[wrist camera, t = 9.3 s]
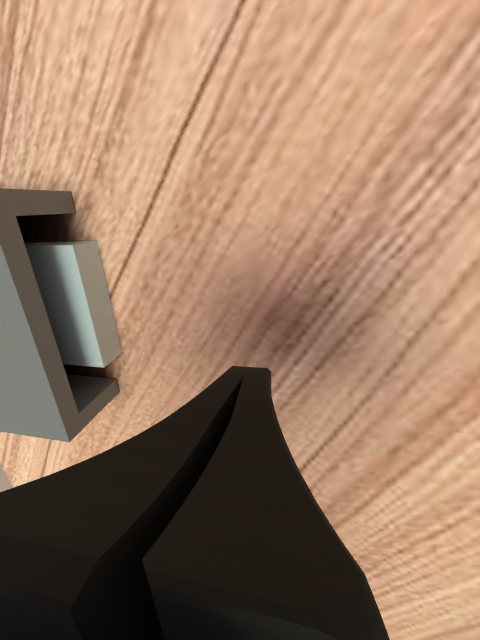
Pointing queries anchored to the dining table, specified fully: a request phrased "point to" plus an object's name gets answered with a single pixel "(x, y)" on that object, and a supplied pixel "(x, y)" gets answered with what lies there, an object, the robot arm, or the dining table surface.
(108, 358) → the pale blue thin plate
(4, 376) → the overhang shelf
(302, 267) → the dining table surface
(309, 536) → the robot arm
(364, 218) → the dining table surface
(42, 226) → the dining table surface
